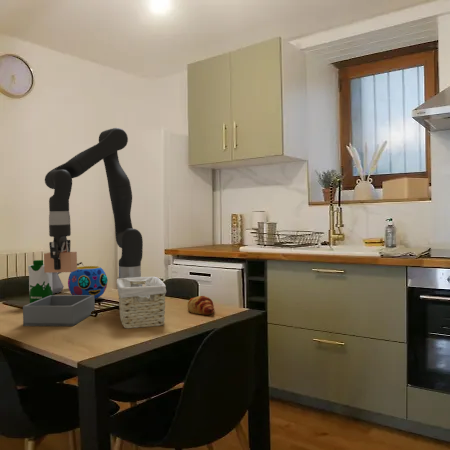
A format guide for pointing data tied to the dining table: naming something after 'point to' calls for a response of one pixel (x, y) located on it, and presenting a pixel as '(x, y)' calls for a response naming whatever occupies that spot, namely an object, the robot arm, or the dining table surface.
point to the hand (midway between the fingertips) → (61, 268)
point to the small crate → (66, 260)
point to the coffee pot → (58, 282)
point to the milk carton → (39, 281)
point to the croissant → (201, 305)
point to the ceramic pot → (87, 281)
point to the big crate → (58, 310)
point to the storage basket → (141, 302)
